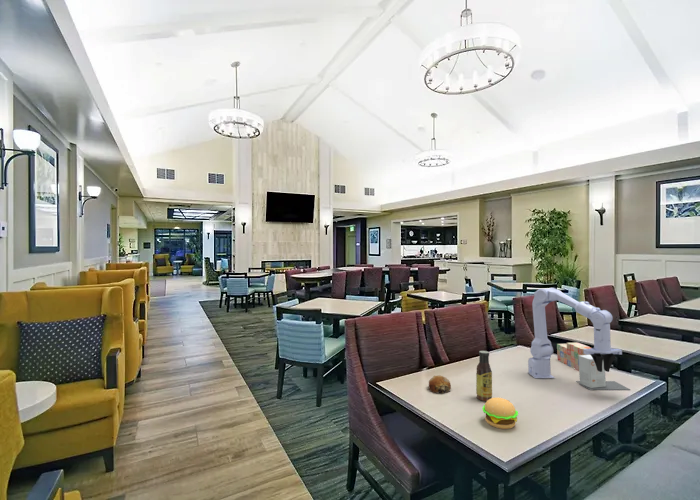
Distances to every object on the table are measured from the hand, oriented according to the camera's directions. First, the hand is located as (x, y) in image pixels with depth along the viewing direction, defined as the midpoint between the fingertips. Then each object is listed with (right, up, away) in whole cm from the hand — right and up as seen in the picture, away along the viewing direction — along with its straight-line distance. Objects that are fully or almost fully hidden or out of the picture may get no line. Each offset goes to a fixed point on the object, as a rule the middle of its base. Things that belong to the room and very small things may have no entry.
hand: (603, 371), depth 147 cm
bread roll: (-67, -12, +10) cm, 69 cm away
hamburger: (-53, -12, -22) cm, 59 cm away
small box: (+3, -10, +11) cm, 15 cm away
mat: (+7, -10, +10) cm, 16 cm away
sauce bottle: (-51, -12, -1) cm, 52 cm away
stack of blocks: (+13, -11, +38) cm, 42 cm away
